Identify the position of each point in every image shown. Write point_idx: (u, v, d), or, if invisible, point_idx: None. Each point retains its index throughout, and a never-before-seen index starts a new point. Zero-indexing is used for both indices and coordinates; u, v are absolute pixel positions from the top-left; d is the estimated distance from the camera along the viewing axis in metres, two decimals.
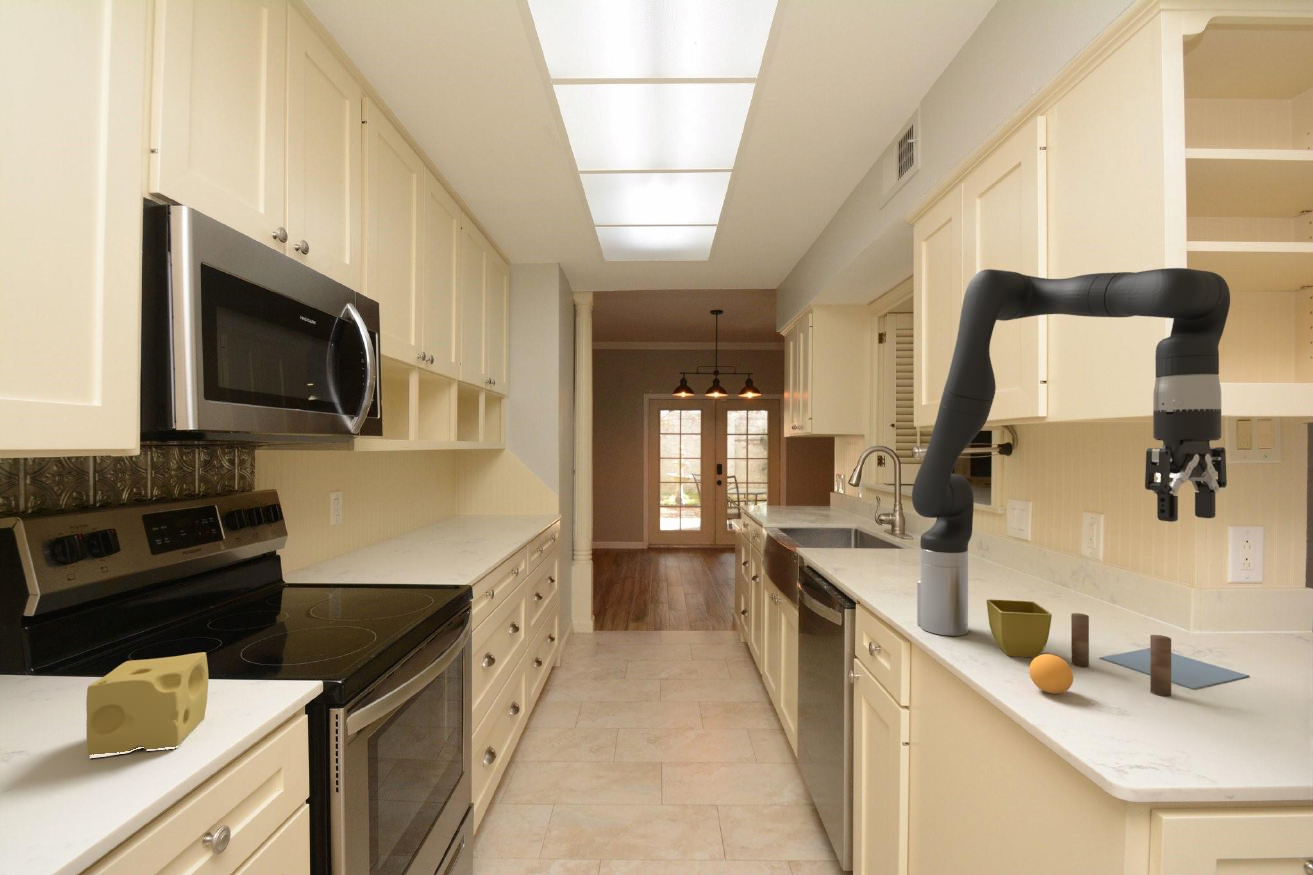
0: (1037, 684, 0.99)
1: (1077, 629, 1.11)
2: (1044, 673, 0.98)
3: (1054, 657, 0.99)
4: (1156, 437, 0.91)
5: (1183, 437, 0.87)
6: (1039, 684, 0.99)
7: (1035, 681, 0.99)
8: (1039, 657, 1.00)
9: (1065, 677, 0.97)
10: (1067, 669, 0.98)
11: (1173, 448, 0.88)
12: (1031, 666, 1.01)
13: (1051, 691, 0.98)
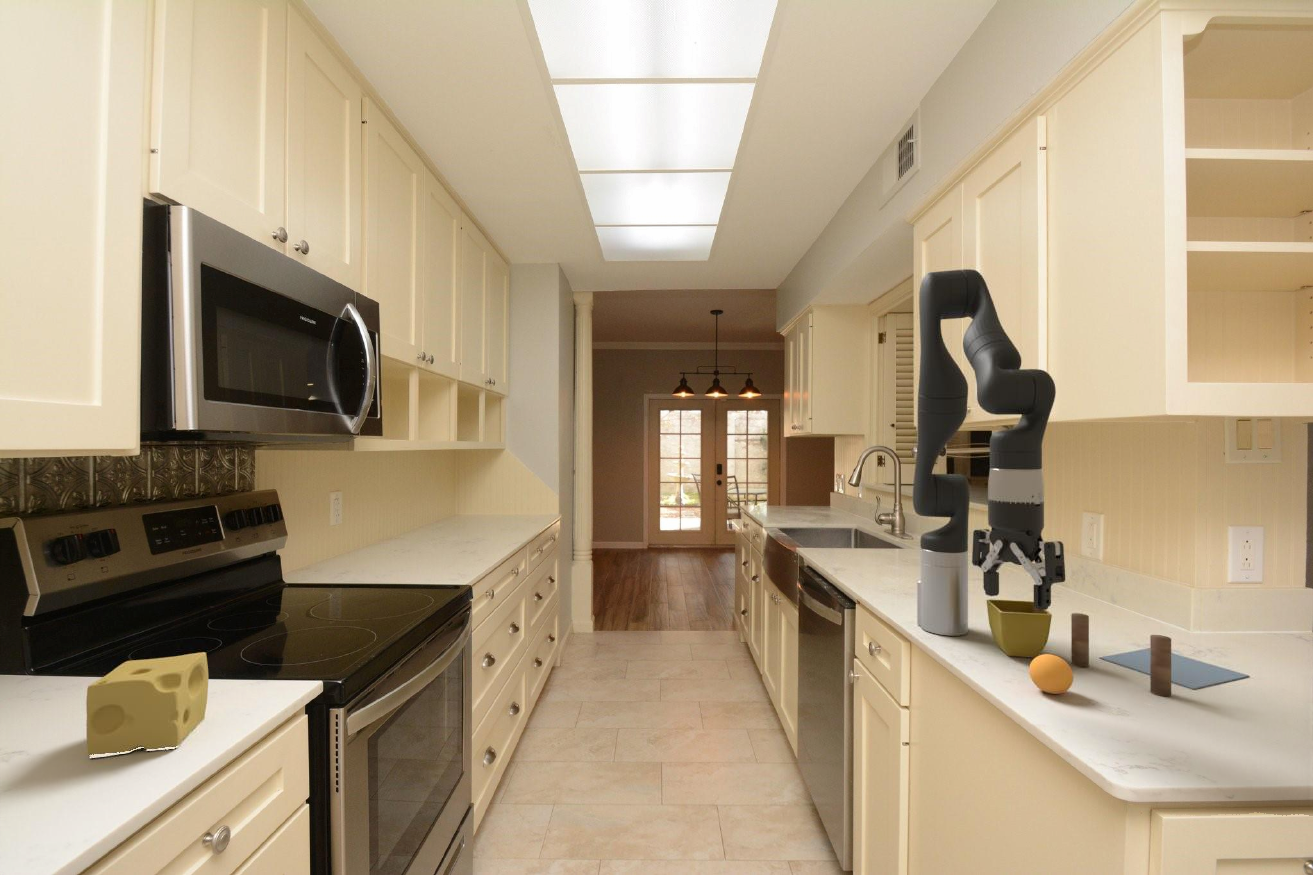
0: (1037, 684, 0.99)
1: (1077, 629, 1.11)
2: (1044, 673, 0.98)
3: (1054, 657, 0.99)
4: (1022, 528, 0.92)
5: (1043, 527, 0.93)
6: (1039, 684, 0.99)
7: (1035, 681, 0.99)
8: (1039, 657, 1.00)
9: (1065, 677, 0.97)
10: (1067, 669, 0.98)
11: (1041, 539, 0.93)
12: (1031, 666, 1.01)
13: (1051, 691, 0.98)
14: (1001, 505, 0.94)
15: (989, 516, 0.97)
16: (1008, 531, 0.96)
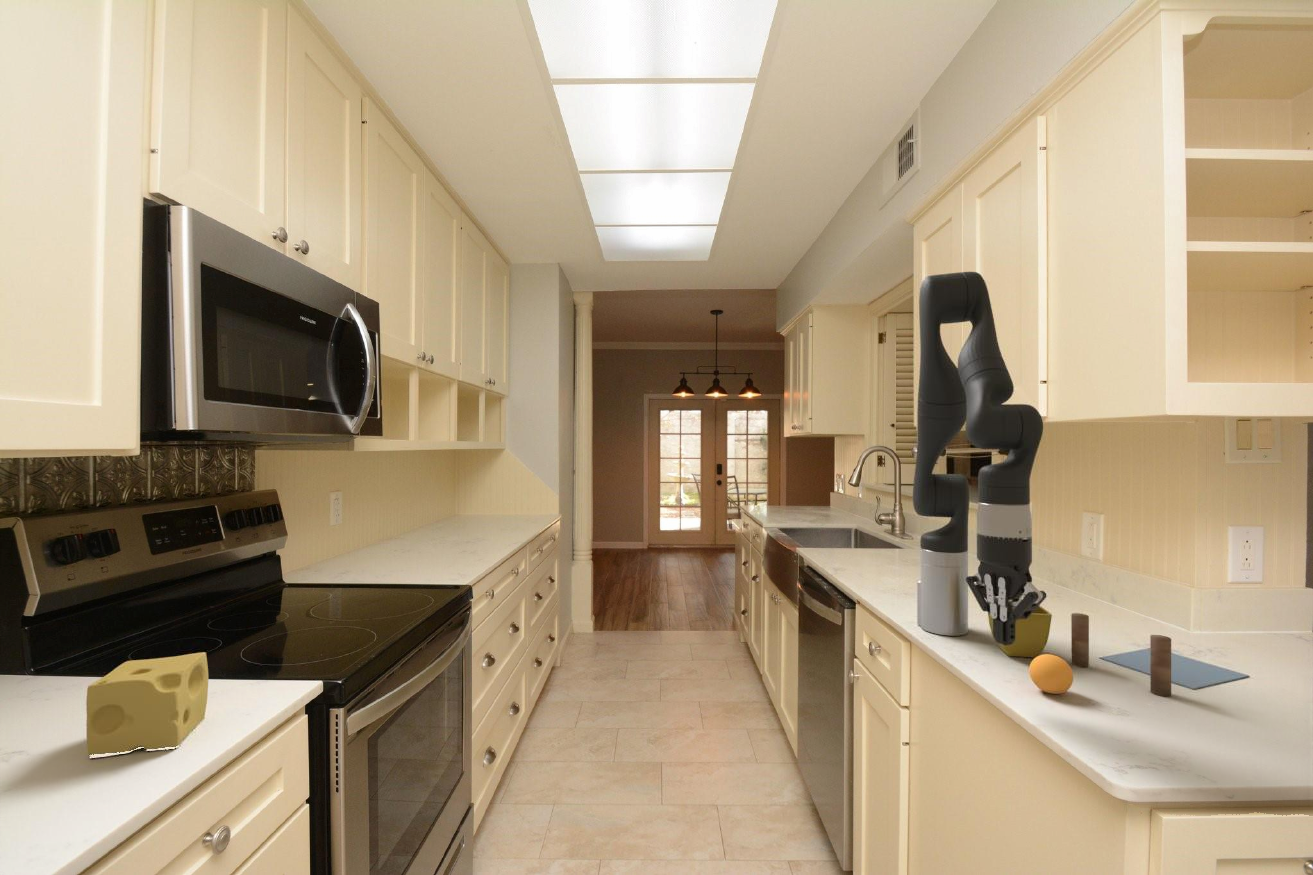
0: (1037, 684, 0.99)
1: (1077, 629, 1.11)
2: (1044, 673, 0.98)
3: (1054, 657, 0.99)
4: (1010, 564, 0.93)
5: (1031, 562, 0.94)
6: (1039, 684, 0.99)
7: (1035, 681, 0.99)
8: (1039, 657, 1.00)
9: (1065, 677, 0.97)
10: (1067, 669, 0.98)
11: (1031, 579, 0.93)
12: (1031, 666, 1.01)
13: (1051, 691, 0.98)
14: (989, 540, 0.94)
15: (977, 550, 0.97)
16: (996, 565, 0.96)
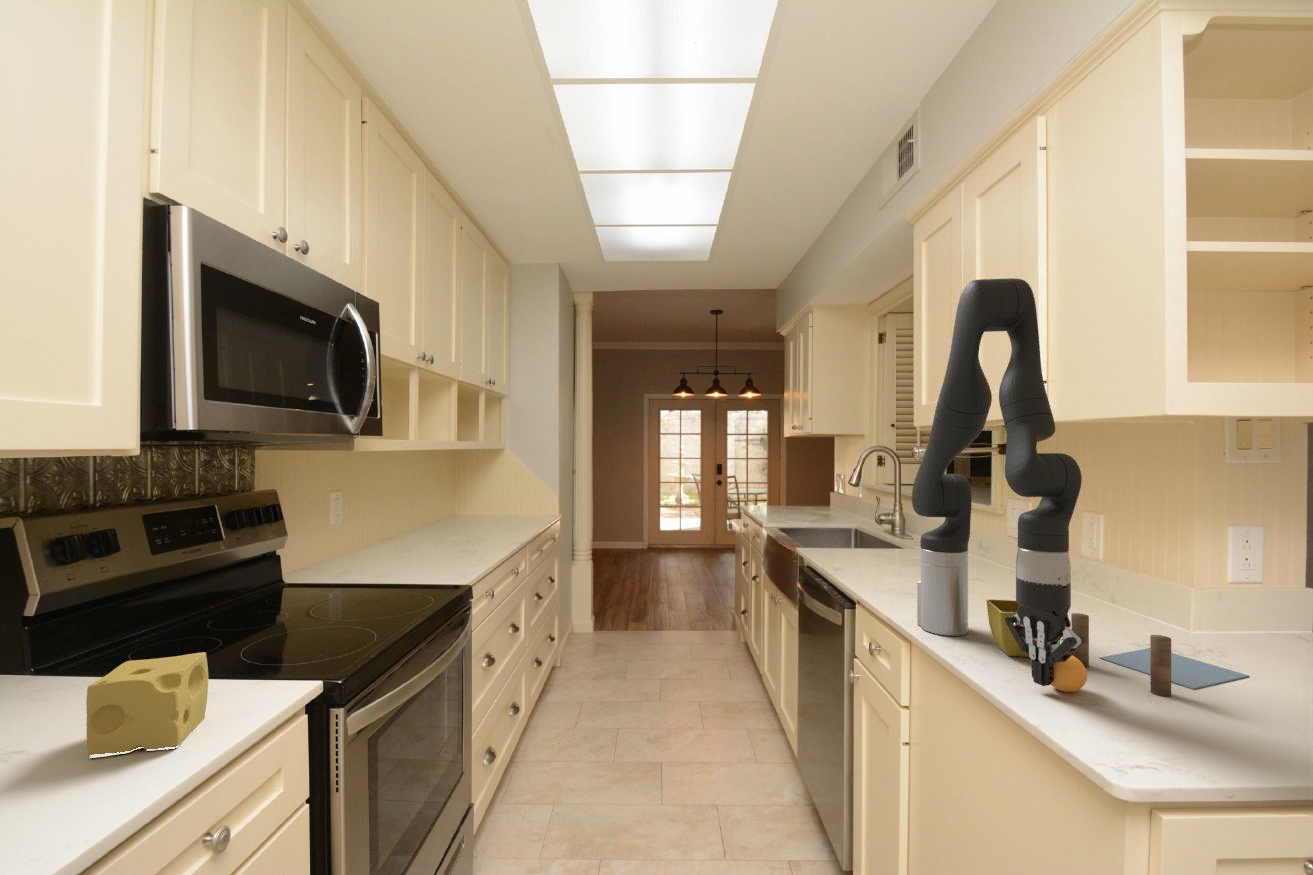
0: None
1: (1077, 629, 1.11)
2: (1063, 662, 0.99)
3: (1076, 658, 1.00)
4: (1049, 609, 0.96)
5: (1069, 608, 0.97)
6: None
7: None
8: None
9: (1081, 675, 0.98)
10: (1085, 670, 0.99)
11: (1070, 625, 0.96)
12: None
13: (1060, 682, 0.99)
14: (1028, 585, 0.98)
15: (1017, 593, 1.01)
16: None
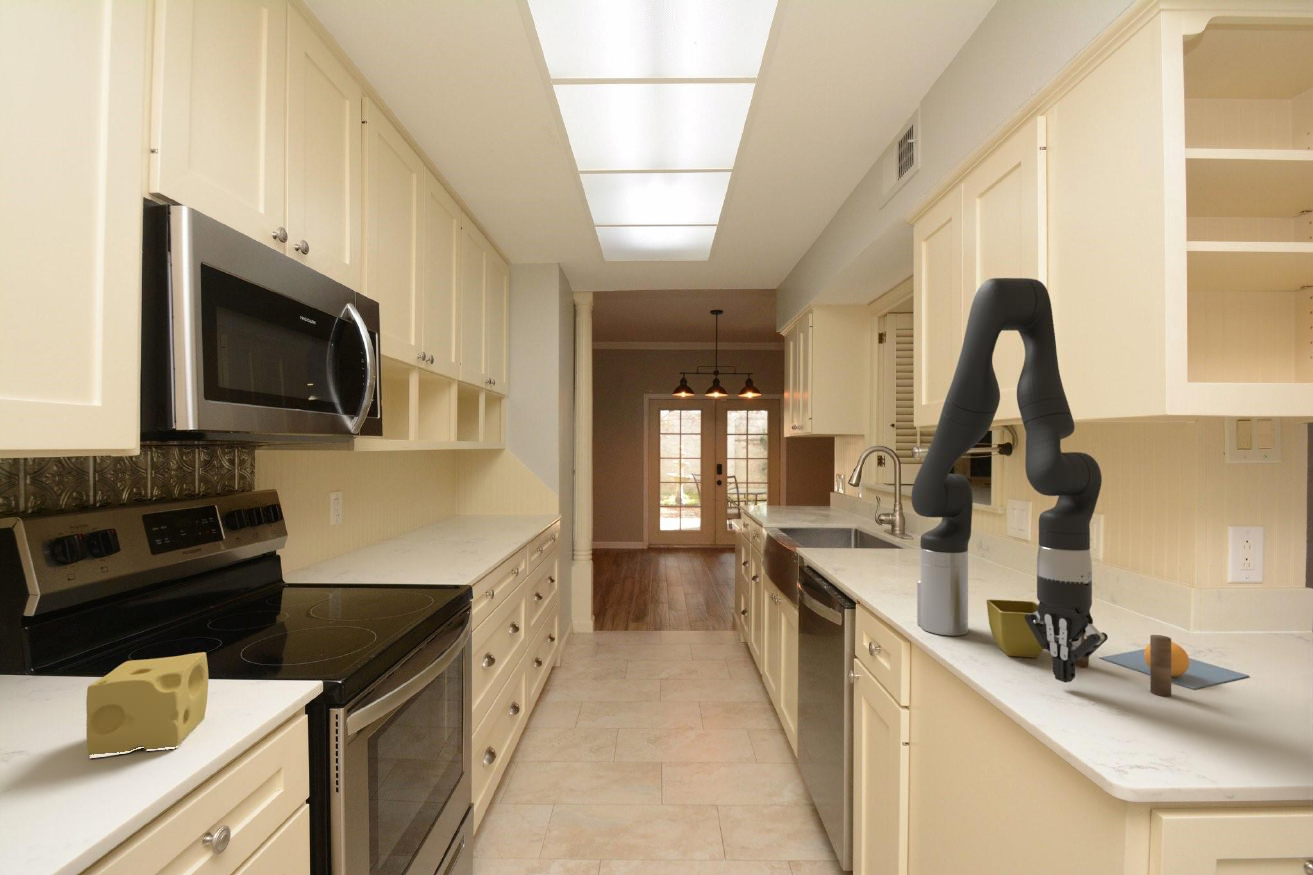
0: None
1: None
2: None
3: None
4: (1072, 606, 0.97)
5: None
6: None
7: None
8: None
9: (1187, 662, 1.04)
10: (1188, 666, 1.04)
11: (1092, 621, 0.97)
12: None
13: None
14: (1051, 583, 0.99)
15: (1038, 591, 1.02)
16: (1057, 606, 1.01)
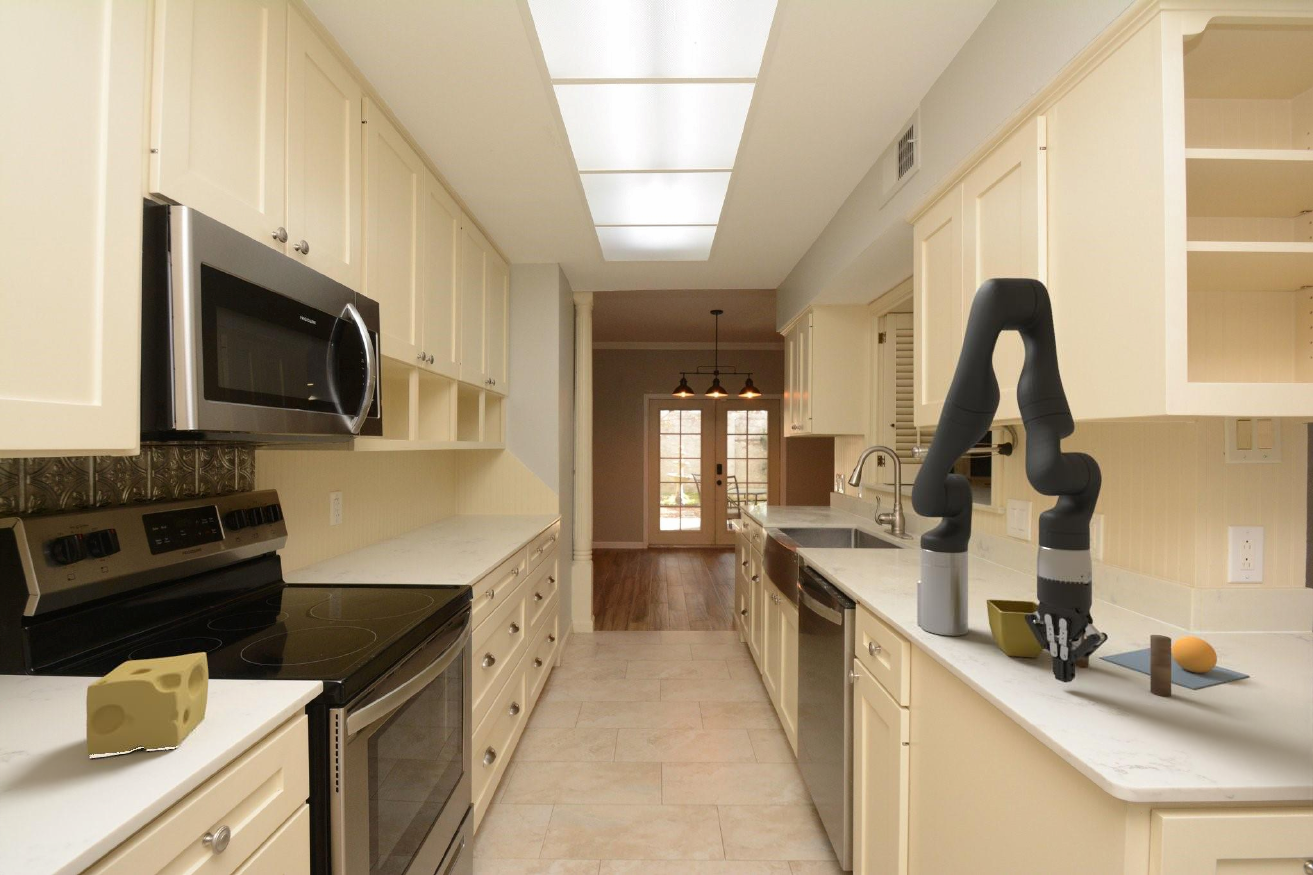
0: None
1: None
2: None
3: (1191, 670, 1.07)
4: (1072, 606, 0.97)
5: None
6: None
7: None
8: None
9: (1212, 663, 1.05)
10: (1203, 665, 1.05)
11: (1092, 621, 0.97)
12: None
13: None
14: (1051, 583, 0.99)
15: (1038, 591, 1.02)
16: (1057, 606, 1.01)
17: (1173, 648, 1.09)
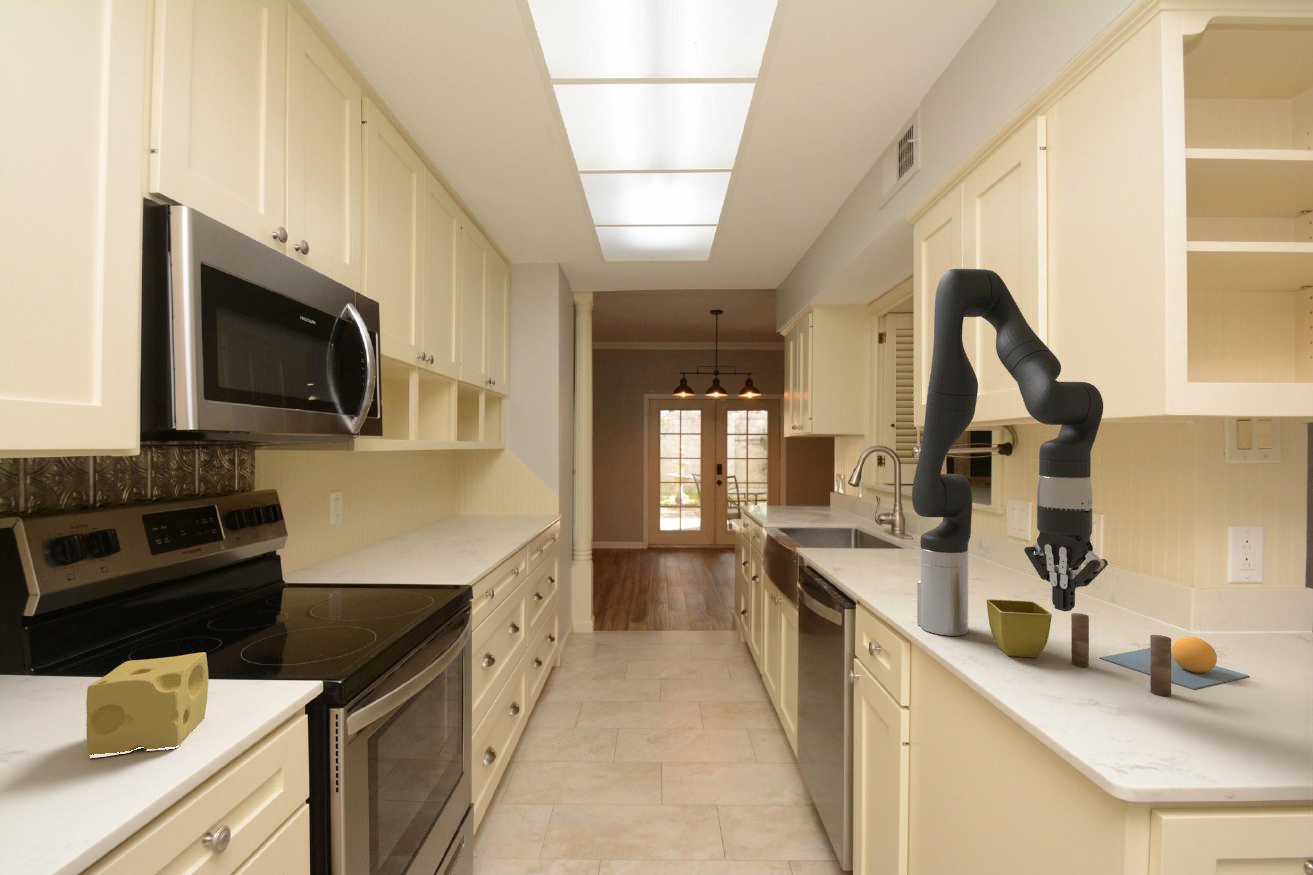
0: None
1: (1077, 629, 1.11)
2: None
3: (1191, 670, 1.07)
4: (1072, 534, 0.97)
5: (1091, 533, 0.98)
6: None
7: None
8: None
9: (1212, 663, 1.05)
10: (1203, 665, 1.05)
11: (1092, 549, 0.97)
12: None
13: None
14: (1051, 511, 0.99)
15: (1038, 521, 1.02)
16: (1057, 536, 1.01)
17: (1173, 648, 1.09)
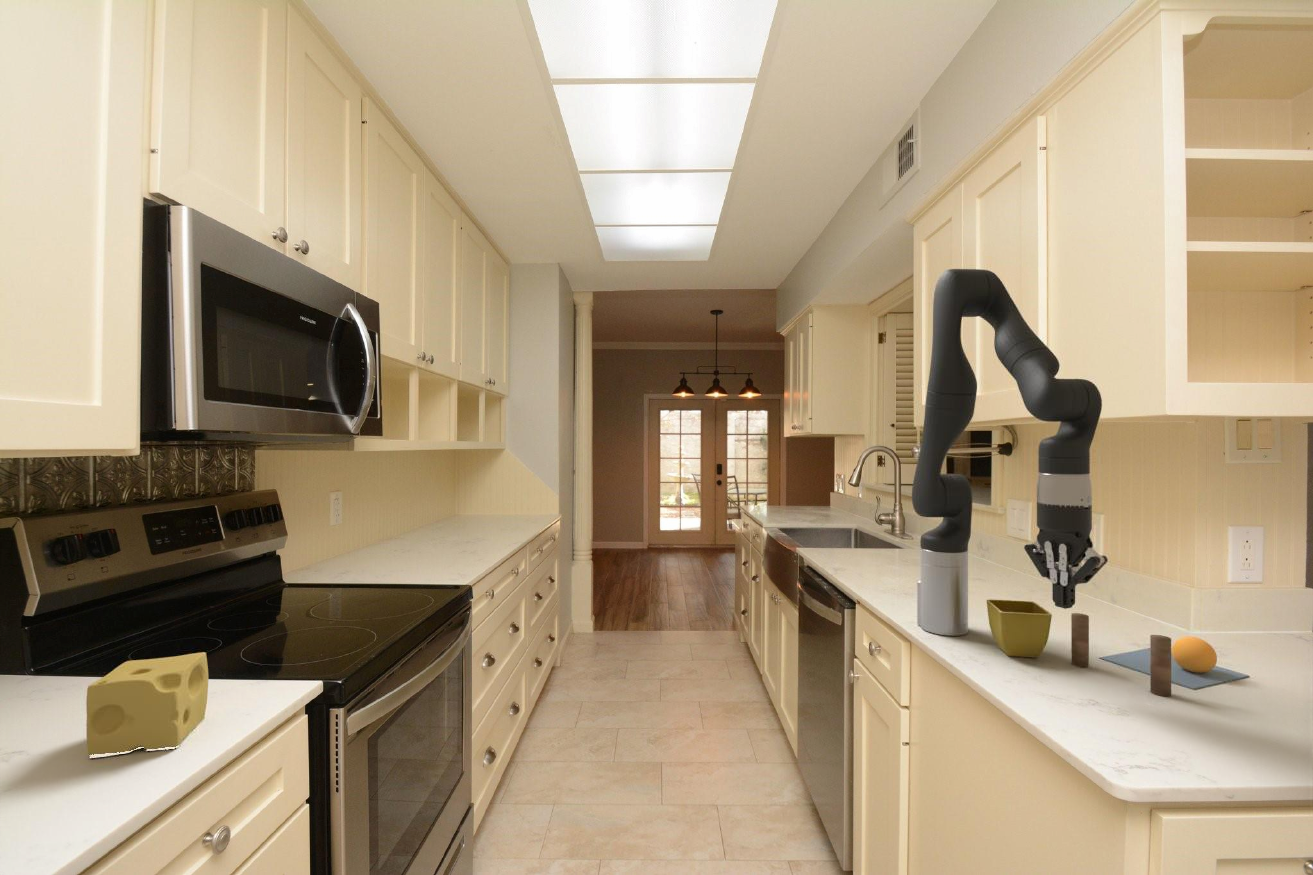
0: None
1: (1077, 629, 1.11)
2: None
3: (1191, 670, 1.07)
4: (1072, 530, 0.97)
5: (1091, 529, 0.98)
6: None
7: None
8: None
9: (1212, 663, 1.05)
10: (1203, 665, 1.05)
11: (1092, 545, 0.97)
12: None
13: None
14: (1051, 508, 0.99)
15: (1038, 518, 1.02)
16: (1057, 533, 1.01)
17: (1173, 648, 1.09)
